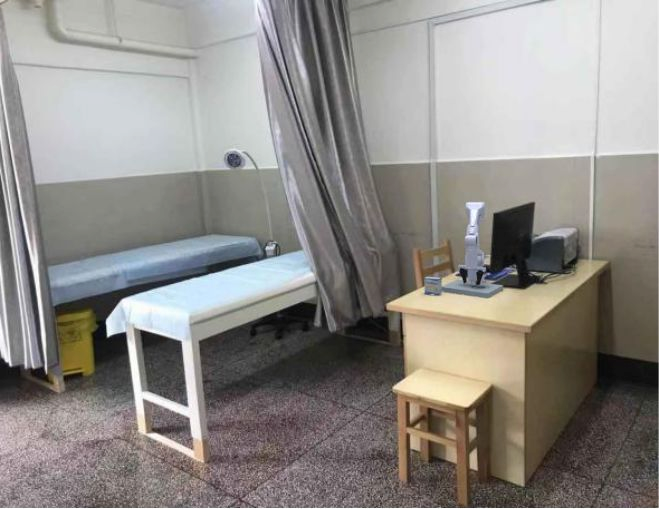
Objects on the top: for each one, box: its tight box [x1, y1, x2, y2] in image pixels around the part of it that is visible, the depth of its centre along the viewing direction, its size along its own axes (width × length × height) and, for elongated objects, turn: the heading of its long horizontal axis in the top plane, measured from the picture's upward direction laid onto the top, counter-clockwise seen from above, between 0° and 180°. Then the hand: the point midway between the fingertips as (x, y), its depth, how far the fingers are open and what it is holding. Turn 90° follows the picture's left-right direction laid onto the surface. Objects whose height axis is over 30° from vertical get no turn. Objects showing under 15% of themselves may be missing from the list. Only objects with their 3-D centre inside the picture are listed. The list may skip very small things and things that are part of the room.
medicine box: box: [424, 276, 443, 296], centre depth 281 cm, size 8×4×9 cm, turn 62°
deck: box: [442, 279, 504, 299], centre depth 283 cm, size 26×18×2 cm
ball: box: [471, 280, 477, 287], centre depth 282 cm, size 4×4×4 cm
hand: (471, 283), depth 283 cm, fingers open, 7 cm apart
